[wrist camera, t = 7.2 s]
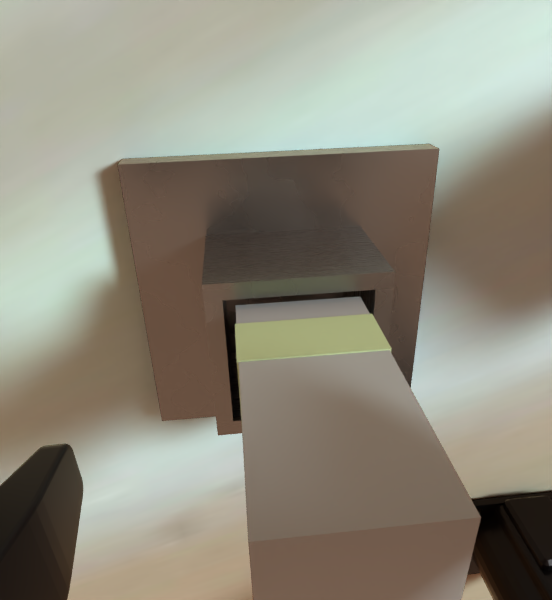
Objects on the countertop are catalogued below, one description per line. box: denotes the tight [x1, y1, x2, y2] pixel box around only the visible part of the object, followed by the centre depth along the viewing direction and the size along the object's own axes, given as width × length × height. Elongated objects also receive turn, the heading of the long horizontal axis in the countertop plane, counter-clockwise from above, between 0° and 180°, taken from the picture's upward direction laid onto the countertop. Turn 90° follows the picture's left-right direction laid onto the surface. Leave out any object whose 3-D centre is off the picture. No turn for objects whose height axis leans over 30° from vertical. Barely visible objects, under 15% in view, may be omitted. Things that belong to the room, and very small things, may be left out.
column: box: [235, 297, 481, 600], centre depth 14 cm, size 4×4×9 cm
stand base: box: [118, 144, 439, 435], centre depth 19 cm, size 12×12×6 cm
